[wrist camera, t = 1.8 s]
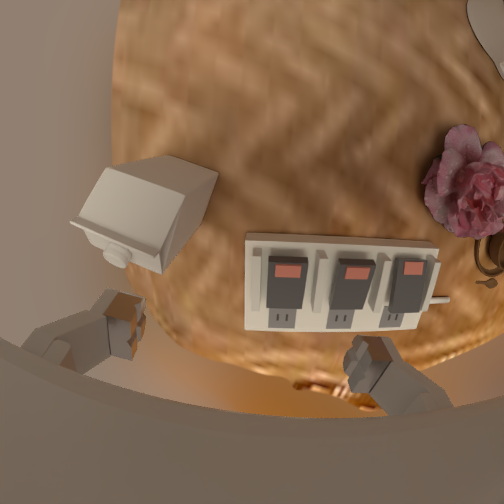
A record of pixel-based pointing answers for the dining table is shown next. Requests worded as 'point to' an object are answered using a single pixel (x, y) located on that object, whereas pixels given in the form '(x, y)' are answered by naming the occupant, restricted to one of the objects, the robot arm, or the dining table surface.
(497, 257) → the place setting
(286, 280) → the rocker far end
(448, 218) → the flower
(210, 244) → the dining table surface
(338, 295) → the rocker middle
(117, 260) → the milk carton
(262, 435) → the robot arm
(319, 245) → the power strip
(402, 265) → the rocker near arm
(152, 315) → the dining table surface
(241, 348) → the dining table surface
